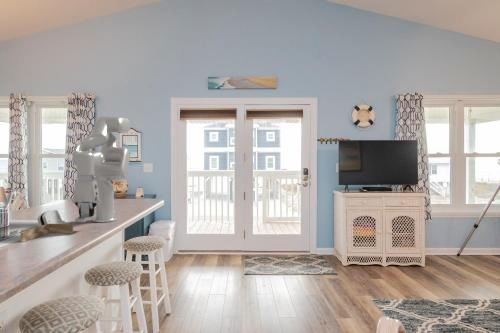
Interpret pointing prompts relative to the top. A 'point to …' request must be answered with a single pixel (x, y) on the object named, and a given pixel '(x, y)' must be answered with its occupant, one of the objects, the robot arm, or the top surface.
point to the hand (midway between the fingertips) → (86, 215)
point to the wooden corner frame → (45, 231)
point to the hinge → (50, 218)
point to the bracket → (84, 212)
